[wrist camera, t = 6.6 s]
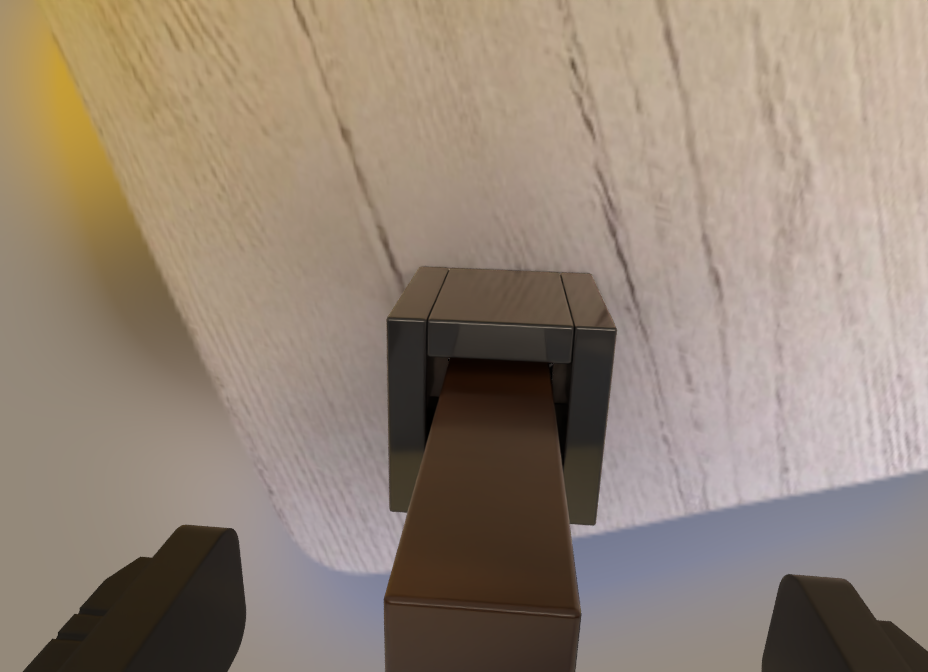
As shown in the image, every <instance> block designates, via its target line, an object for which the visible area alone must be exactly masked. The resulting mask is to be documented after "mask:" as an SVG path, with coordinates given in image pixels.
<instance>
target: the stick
mask: <svg viewBox="0 0 928 672" xmlns="http://www.w3.org/2000/svg"><path fill="white" fill-rule="evenodd" d="M580 622H581V608H580V601H579V593H578V585H577V577H576V570H575V562H574V555H573V546H572V538H571V530H570V523H569V515H568V507H567V499H566V492H565V484H564V476H563V468H562V460H561V453H560V445H559V437H558V429H557V422H556V414H555V406H554V398H553V391H552V383H551V375H550V367H549V363H543V362H524V361H504V360H485V359H466V358H450V360H449V363H448V367H447V371H446V374H445V378H444V382H443V385H442V389H441V392H440V396H439V400H438V403H437V407H436V411H435V414H434V418H433V422H432V425H431V429H430V433H429V436H428V440H427V444H426V447H425V451H424V454H423V458H422V462H421V465H420V469H419V473H418V476H417V480H416V484H415V487H414V491H413V495H412V498H411V502H410V506H409V509H408V513H407V516H406V520H405V524H404V527H403V531H402V535H401V538H400V542H399V546H398V549H397V553H396V557H395V560H394V564H393V567H392V571H391V575H390V579H389V582H388V586H387V590H386V593H385V597H384V632H385V633H384V635H385V672H575V669H576V659H577V650H578V649H577V648H578V641H579V632H580Z"/></svg>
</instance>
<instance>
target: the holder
mask: <svg viewBox="0 0 928 672" xmlns="http://www.w3.org/2000/svg"><path fill="white" fill-rule="evenodd" d="M386 322H387V386H388V451H389V509H390V511H392V512H405V513H408V509H409V506H410V502H411V498H412V495H413V491H414V487H415V484H416V480H417V476H418V473H419V469H420V465H421V462H422V458H423V454H424V451H425V447H426V444H427V440H428V436H429V433H430V429H431V425H432V422H433V418H434V414H435V411H436V407H437V403H438V400H439V396H440V392H441V389H442V385H443V382H444V378H445V374H446V371H447V366H448V358H466V359H485V360H504V361H524V362H543V363H553V376H552V391H553V398H554V406H555V414H556V422H557V429H558V437H559V445H560V453H561V460H562V468H563V476H564V484H565V492H566V499H567V507H568V515H569V523H570V524H578V525H595V524H596V518H597V509H598V500H599V490H600V481H601V472H602V463H603V454H604V445H605V436H606V427H607V417H608V408H609V399H610V390H611V381H612V372H613V363H614V354H615V344H616V335H617V328H616V326H615V324H614V322H613V320H612V318H611V315H610V313H609V311H608V309H607V307H606V305H605V302H604V300H603V298H602V296H601V294H600V292H599V290H598V287H597V285H596V283H595V281H594V279H593V277H592V274H585V273H561V274H560V273H558V272H535V271H512V270H488V269H465V268H450V270H449V269H448V268H442V267H419V268H418V270H417V272H416V273H415V275H414V276H413V278H412V279H411V281H410V283H409V284H408V286H407V287H406V289H405V290H404V292H403V294H402V295H401V297H400V298H399V300H398V301H397V303H396V305H395V306H394V308H393V309H392V311H391V312H390V314H389V315H388V317H387V319H386Z"/></svg>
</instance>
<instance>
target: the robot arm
mask: <svg viewBox="0 0 928 672" xmlns="http://www.w3.org/2000/svg"><path fill="white" fill-rule="evenodd" d="M241 567H242V566H241V557H240V549H239V540H238V536H237V533H236V531H235V530H234V529H232V528H220V527H208V526H195V525H182V526H180V527H179V528H177V529H176V530H175V531H174V533H173V534H172V535H171V536H170V538H169V539H168V540H167V541H166V542H165V544H164V545H163V546H162V547H161V548H160V549H159V550H158V552H157V553H156V554H155V555H154V556H153V558H149V557H140V558H138V559H136V560H135V561H133V562H132V563H130V564H129V565H127V566H126V567H124V568H122V569H121V570H119V571H118V572H117V573H115V574H113V575H112V576H110V577H109V578H107V579H106V580H105V581H104V582H103V583H102V584H101V585H100V586H99V587H98V588H97V590H96V591H95V592H94V593H93V594H92V595H91V596H90V597H89V599H88V600H87V601H86V602H85V603H84V604H83V605H82V606H81V607H80V611H79V613H78V614H74V615H73V616H72V617H71V618H70V620H69V621H68V622H67V623H66V624H65V625H64V626H63V627H62V628H61V630H60V631H59V632H58V636H57V638H56V639H52V640H51V641H50V642H49V643H48V644H47V645H46V646H45V647H44V648H43V650H42V651H41V652H40V653H39V654H38V655H37V656H36V657H35V658H34V660H33V661H32V662H31V663H30V664H29V665H28V666H27V667H26V669H25V670H24V671H23V672H227V671H228V669H229V668H230V666H231V664H232V662H233V660H234V658H235V656H236V654H237V652H238V650H239V647H240V644H241V641H242V637H243V633H244V629H245V622H246V604H245V595H244V585H243V577H242V568H241ZM762 672H928V651H926V650H925V649H924V648H923V647H922V646H920V645H919V644H918V643H917V642H915V641H914V640H913V639H912V638H911V637H909V636H908V635H907V634H906V633H904V632H903V631H902V630H901V629H899V628H898V627H897V626H896V625H894V624H893V623H892V622H891V621H879V620H876V618H875V617H874V616H873V614H872V613H871V611H870V610H869V609H868V607H867V606H866V604H865V603H864V601H863V600H862V599H861V597H860V596H859V594H858V593H857V591H856V590H855V588H854V587H853V586H852V585H851V583H849V582H848V581H847V580H845V579H841V578H829V577H817V576H804V575H792V574H788V575H785V576H784V577H783V578H782V580H781V582H780V585H779V588H778V593H777V597H776V601H775V606H774V610H773V614H772V619H771V623H770V627H769V631H768V636H767V641H766V645H765V649H764V653H763V658H762Z"/></svg>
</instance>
